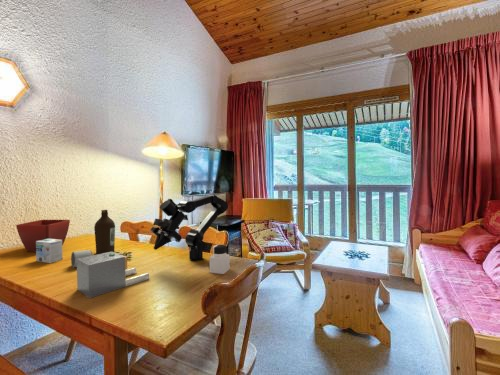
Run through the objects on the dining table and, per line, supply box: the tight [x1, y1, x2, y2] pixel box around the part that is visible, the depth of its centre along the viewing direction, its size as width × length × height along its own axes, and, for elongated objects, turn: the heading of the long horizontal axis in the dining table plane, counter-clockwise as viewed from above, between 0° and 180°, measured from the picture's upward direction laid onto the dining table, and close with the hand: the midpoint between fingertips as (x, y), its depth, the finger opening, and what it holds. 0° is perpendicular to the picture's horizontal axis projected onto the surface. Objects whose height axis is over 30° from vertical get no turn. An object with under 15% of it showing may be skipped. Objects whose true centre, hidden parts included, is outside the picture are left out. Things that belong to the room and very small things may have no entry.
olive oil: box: [93, 209, 116, 255], centre depth 150 cm, size 11×11×25 cm
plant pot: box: [15, 219, 71, 253], centre depth 158 cm, size 19×19×17 cm
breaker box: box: [76, 251, 150, 299], centre depth 104 cm, size 23×12×13 cm, turn 141°
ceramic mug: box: [70, 249, 94, 269], centre depth 129 cm, size 11×8×8 cm
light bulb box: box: [35, 239, 64, 264], centre depth 136 cm, size 11×7×11 cm, turn 73°
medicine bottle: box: [209, 243, 231, 275], centre depth 119 cm, size 7×7×12 cm
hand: (154, 249), depth 118 cm, fingers closed
